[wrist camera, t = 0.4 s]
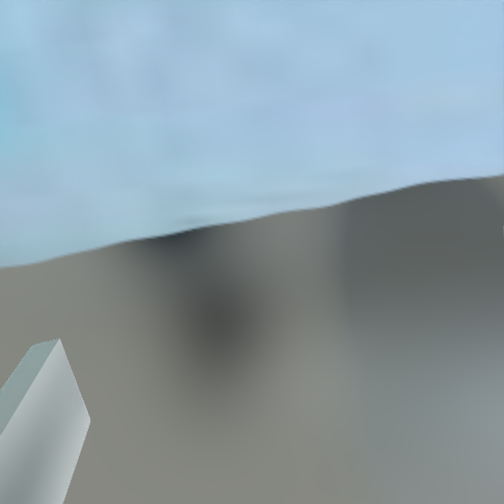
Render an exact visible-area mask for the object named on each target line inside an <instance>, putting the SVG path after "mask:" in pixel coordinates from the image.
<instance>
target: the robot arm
mask: <svg viewBox="0 0 504 504" xmlns="http://www.w3.org/2000/svg"><path fill="white" fill-rule="evenodd" d="M503 227H504V226H503ZM89 424H90V418H89V415H88V412H87V410H86V407H85V404H84V402H83V399H82V396H81V394H80V391H79V389H78V386H77V383H76V381H75V378H74V375H73V373H72V370H71V367H70V365H69V362H68V359H67V357H66V354H65V351H64V349H63V346H62V344H61V341H60V339H55V340H51V341H47V342H43V343H39V344H35V345H32V346H31V348H30V349H29V350H28V352H27V353H26V355H25V356H24V358H23V359H22V360H21V362H20V363H19V365H18V366H17V367H16V369H15V370H14V372H13V373H12V374H11V376H10V377H9V379H8V380H7V382H6V383H5V384H4V386H3V387H2V389H1V390H0V504H63V502H64V499H65V496H66V493H67V490H68V487H69V484H70V481H71V478H72V475H73V472H74V469H75V466H76V463H77V460H78V457H79V454H80V451H81V448H82V445H83V442H84V439H85V436H86V433H87V430H88V427H89Z"/></svg>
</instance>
